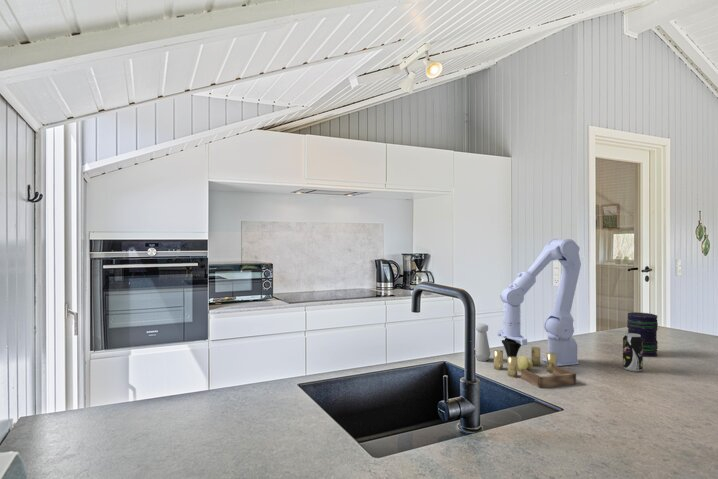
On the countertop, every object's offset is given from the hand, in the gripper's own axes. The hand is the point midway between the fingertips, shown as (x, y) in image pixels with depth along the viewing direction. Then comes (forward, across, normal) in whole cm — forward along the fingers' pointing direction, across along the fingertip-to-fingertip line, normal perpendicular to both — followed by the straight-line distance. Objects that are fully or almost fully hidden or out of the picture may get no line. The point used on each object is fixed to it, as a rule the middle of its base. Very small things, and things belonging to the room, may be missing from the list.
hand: (511, 360), depth 155 cm
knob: (+2, +7, 0) cm, 7 cm away
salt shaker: (+1, -8, -7) cm, 11 cm away
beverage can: (+1, +17, +35) cm, 39 cm away
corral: (+1, +18, 0) cm, 18 cm away
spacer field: (+1, +7, 0) cm, 7 cm away
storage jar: (+1, +2, +56) cm, 56 cm away
